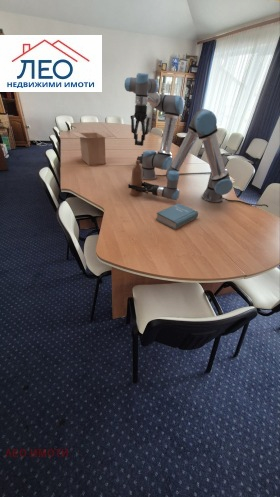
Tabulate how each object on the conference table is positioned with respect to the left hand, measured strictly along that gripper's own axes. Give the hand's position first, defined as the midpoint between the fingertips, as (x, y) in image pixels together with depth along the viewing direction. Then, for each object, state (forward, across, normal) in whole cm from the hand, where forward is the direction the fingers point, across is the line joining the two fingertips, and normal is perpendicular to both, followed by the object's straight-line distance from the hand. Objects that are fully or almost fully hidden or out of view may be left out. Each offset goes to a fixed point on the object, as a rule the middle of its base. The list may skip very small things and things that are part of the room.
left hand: (139, 145), depth 152 cm
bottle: (+36, 0, 0) cm, 36 cm away
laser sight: (+36, -23, +84) cm, 94 cm away
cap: (-2, 0, 0) cm, 2 cm away
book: (+35, +39, -25) cm, 59 cm away
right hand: (+29, -5, 0) cm, 29 cm away
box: (+36, -74, +58) cm, 101 cm away
